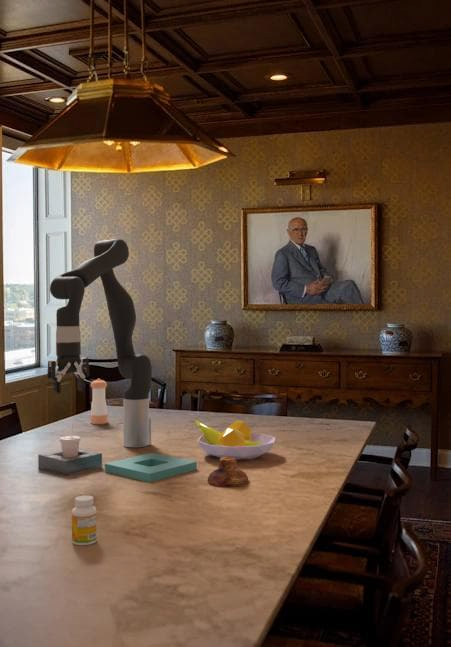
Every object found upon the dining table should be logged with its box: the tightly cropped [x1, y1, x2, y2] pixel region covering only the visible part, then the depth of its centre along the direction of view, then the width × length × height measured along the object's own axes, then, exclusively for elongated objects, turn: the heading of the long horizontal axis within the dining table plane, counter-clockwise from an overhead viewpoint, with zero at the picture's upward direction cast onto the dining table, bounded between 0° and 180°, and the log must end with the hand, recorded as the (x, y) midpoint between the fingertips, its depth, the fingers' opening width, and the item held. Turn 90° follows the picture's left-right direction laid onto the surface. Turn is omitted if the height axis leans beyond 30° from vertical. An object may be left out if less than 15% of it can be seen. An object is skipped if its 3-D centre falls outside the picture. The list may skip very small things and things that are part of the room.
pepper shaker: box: [90, 378, 109, 425], centre depth 305 cm, size 7×7×19 cm
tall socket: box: [37, 447, 103, 477], centre depth 223 cm, size 14×14×4 cm
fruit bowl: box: [194, 419, 276, 461], centre depth 240 cm, size 28×27×11 cm
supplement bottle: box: [71, 495, 98, 547], centre depth 155 cm, size 5×5×10 cm
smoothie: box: [59, 423, 81, 458], centre depth 223 cm, size 6×6×14 cm
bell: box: [207, 457, 249, 488], centre depth 206 cm, size 12×12×7 cm
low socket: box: [104, 452, 198, 483], centre depth 219 cm, size 20×20×2 cm
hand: (69, 392), depth 222 cm, fingers open, 8 cm apart
